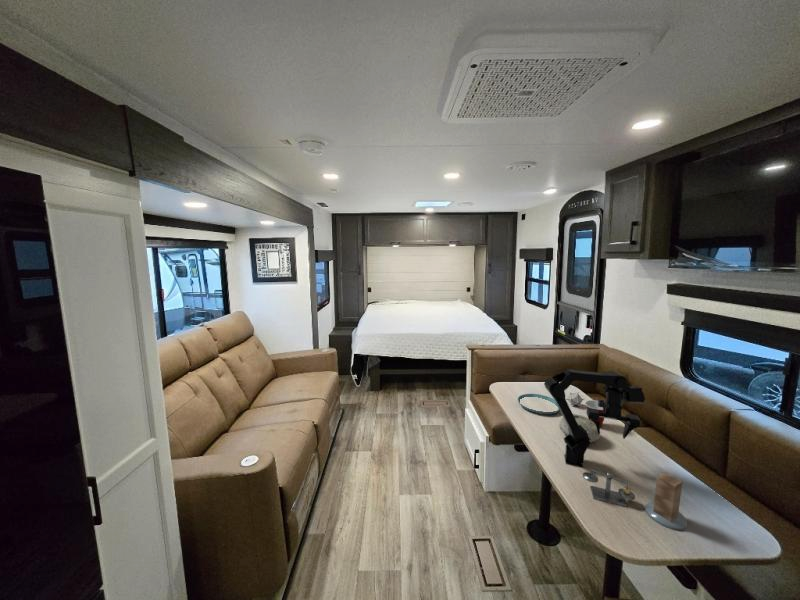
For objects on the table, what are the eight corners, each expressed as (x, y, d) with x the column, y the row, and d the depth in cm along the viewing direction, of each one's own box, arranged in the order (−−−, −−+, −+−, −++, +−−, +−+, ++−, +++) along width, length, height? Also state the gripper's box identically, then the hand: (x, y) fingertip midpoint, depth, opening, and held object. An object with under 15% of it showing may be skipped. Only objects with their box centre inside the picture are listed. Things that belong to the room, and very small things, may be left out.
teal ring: (508, 402, 196) (509, 397, 195) (536, 396, 206) (537, 391, 206) (540, 420, 174) (541, 414, 174) (570, 411, 184) (570, 406, 184)
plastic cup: (579, 420, 174) (580, 399, 173) (598, 419, 174) (600, 399, 173) (591, 430, 163) (593, 408, 162) (611, 430, 163) (613, 408, 162)
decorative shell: (599, 434, 159) (601, 416, 158) (599, 452, 145) (600, 431, 143) (560, 424, 169) (562, 407, 168) (556, 440, 154) (557, 420, 153)
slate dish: (651, 523, 105) (651, 521, 105) (640, 500, 115) (640, 498, 115) (693, 534, 101) (693, 531, 101) (678, 509, 111) (678, 507, 111)
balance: (582, 496, 117) (584, 471, 116) (580, 485, 123) (582, 461, 122) (636, 509, 111) (639, 483, 110) (631, 497, 116) (634, 472, 115)
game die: (574, 410, 194) (580, 395, 196) (582, 411, 185) (589, 396, 188) (561, 402, 195) (567, 388, 197) (569, 403, 186) (575, 388, 189)
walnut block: (653, 511, 109) (657, 476, 107) (660, 506, 111) (664, 472, 110) (670, 521, 104) (674, 486, 103) (678, 516, 107) (682, 481, 105)
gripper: (634, 397, 137) (631, 431, 138) (585, 390, 144) (583, 422, 145) (643, 408, 126) (639, 444, 128) (590, 400, 133) (587, 434, 135)
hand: (610, 435), depth 135 cm, fingers open, 9 cm apart
